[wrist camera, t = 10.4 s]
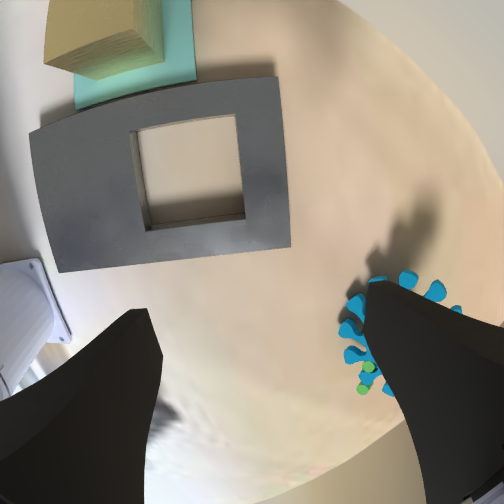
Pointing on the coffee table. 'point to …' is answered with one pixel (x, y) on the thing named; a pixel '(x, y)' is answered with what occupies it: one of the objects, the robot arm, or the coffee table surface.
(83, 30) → the brass block
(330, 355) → the coffee table surface
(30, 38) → the coffee table surface
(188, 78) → the teal mat
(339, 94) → the coffee table surface
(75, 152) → the rail plate
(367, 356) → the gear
